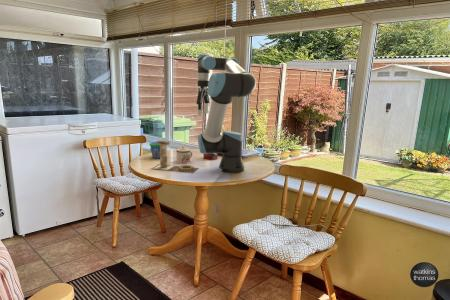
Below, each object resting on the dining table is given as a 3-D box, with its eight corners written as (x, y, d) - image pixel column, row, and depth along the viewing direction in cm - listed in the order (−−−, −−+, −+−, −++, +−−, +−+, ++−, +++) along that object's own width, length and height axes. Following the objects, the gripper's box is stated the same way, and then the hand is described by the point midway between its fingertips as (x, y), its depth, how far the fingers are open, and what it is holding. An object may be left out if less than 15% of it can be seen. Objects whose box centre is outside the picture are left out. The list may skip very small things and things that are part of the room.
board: (199, 170, 182) (199, 165, 181) (192, 175, 170) (193, 170, 169) (158, 166, 187) (158, 162, 186) (149, 171, 175) (149, 166, 175)
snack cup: (145, 156, 214) (145, 141, 212) (159, 154, 220) (159, 140, 218) (156, 160, 202) (155, 145, 200) (170, 158, 209) (170, 144, 206)
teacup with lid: (182, 166, 191) (182, 147, 188) (173, 163, 196) (173, 145, 194) (196, 162, 199) (196, 145, 197) (187, 160, 205) (187, 143, 203)
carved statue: (170, 166, 181) (170, 141, 178) (168, 168, 177) (167, 142, 174) (159, 165, 182) (159, 140, 179) (156, 167, 178) (156, 141, 175)
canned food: (207, 163, 219) (211, 150, 222) (219, 163, 213) (222, 150, 216) (198, 158, 211) (201, 144, 213) (209, 158, 205) (212, 144, 207)
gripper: (203, 80, 204) (203, 112, 208) (191, 79, 180) (191, 115, 184) (214, 80, 202) (213, 112, 206) (203, 79, 178) (203, 116, 183)
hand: (203, 114), depth 195 cm, fingers open, 13 cm apart
